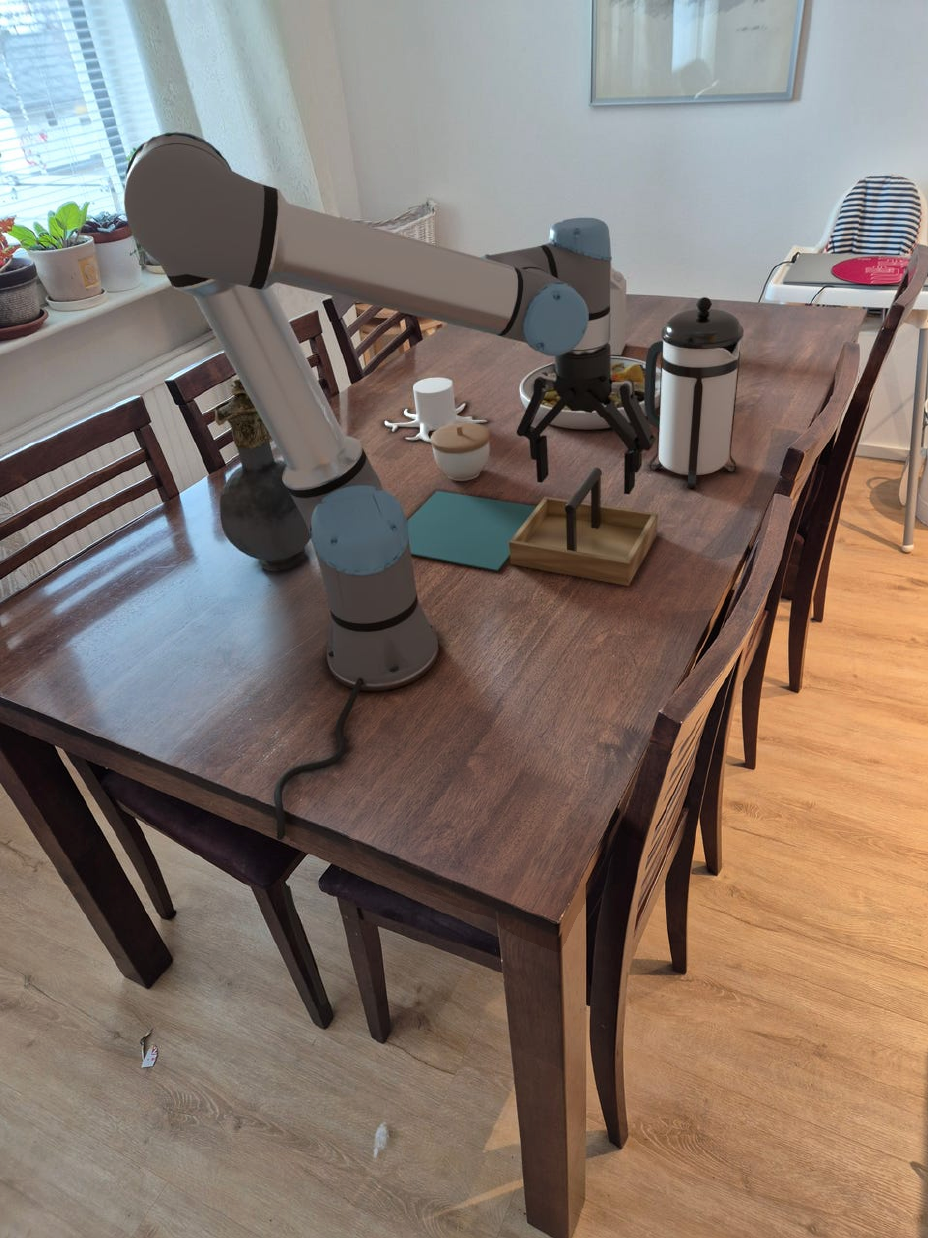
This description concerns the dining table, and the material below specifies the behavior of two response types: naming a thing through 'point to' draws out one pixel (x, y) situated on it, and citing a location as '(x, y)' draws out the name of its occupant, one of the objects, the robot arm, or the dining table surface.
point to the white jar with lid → (461, 450)
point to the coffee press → (695, 390)
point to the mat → (466, 529)
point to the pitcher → (258, 492)
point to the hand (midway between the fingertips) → (585, 484)
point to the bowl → (587, 421)
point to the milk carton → (617, 312)
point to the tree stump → (433, 408)
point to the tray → (585, 536)
